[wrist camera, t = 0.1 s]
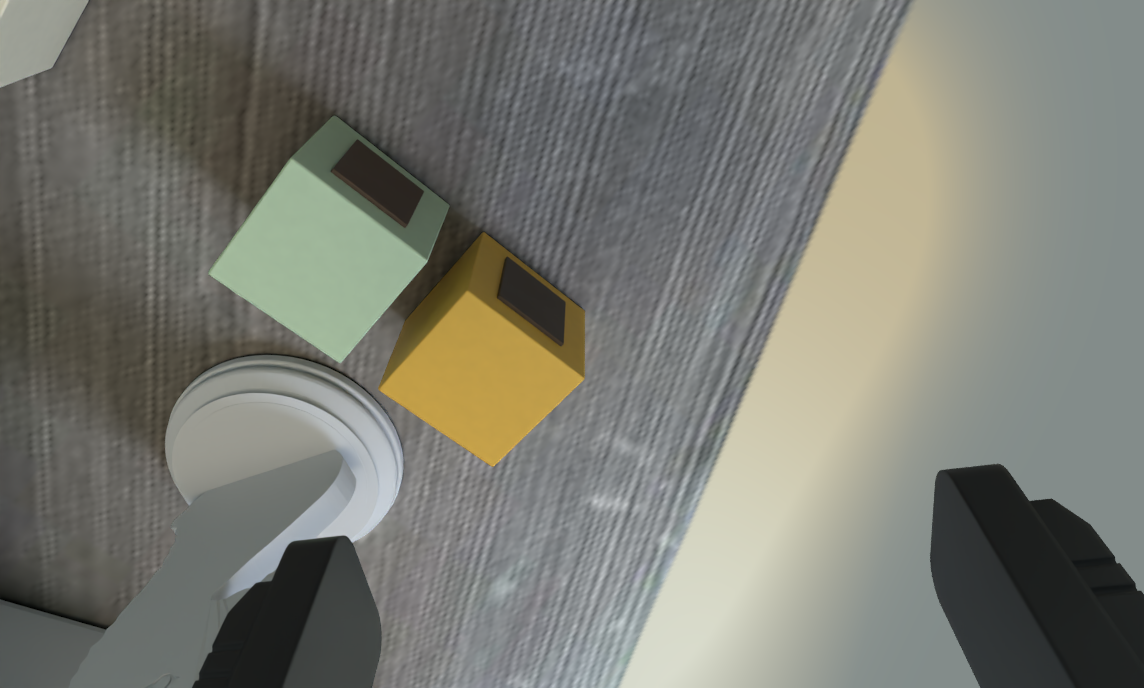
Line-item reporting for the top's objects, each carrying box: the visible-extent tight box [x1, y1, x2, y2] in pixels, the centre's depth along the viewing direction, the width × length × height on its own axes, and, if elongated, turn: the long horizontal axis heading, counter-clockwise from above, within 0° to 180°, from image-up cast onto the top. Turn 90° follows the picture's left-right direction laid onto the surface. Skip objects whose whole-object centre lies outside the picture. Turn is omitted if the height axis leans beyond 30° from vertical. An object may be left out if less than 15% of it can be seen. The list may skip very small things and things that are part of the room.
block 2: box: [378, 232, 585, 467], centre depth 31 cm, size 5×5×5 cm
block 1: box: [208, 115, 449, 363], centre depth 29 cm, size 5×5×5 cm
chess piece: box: [69, 355, 403, 688], centre depth 30 cm, size 10×10×15 cm
